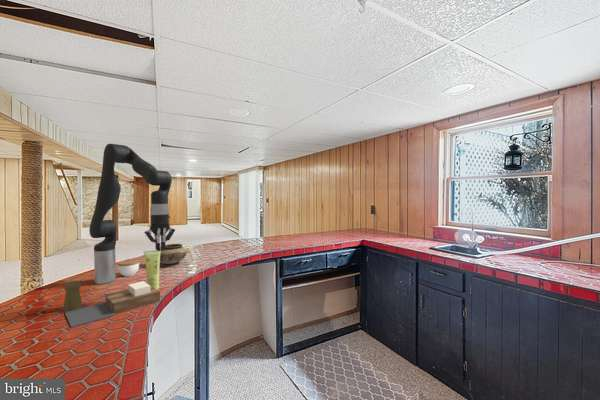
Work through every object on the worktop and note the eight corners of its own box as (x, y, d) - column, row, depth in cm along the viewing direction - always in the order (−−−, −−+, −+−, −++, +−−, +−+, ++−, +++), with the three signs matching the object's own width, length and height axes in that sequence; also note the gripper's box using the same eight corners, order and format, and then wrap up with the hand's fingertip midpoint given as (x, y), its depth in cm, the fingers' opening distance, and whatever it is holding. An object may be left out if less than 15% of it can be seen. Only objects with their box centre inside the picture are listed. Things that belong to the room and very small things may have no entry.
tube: (150, 292, 126) (149, 252, 126) (144, 290, 129) (143, 250, 128) (161, 288, 131) (160, 249, 131) (155, 286, 134) (154, 248, 133)
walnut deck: (105, 304, 113) (105, 294, 113) (148, 292, 126) (148, 284, 125) (114, 314, 104) (113, 304, 103) (160, 300, 116) (159, 292, 116)
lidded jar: (113, 275, 151) (113, 259, 151) (132, 271, 161) (132, 255, 161) (124, 278, 146) (124, 262, 146) (143, 273, 156) (143, 257, 156)
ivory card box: (128, 291, 117) (128, 284, 117) (143, 287, 122) (143, 281, 121) (134, 296, 111) (134, 289, 111) (150, 292, 115) (150, 285, 115)
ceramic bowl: (194, 265, 182) (196, 244, 185) (182, 266, 165) (185, 242, 168) (159, 265, 182) (161, 244, 186) (144, 266, 165) (147, 242, 168)
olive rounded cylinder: (67, 306, 111) (66, 280, 111) (84, 303, 113) (84, 278, 113) (60, 312, 105) (59, 285, 105) (78, 309, 107) (78, 283, 107)
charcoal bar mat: (64, 313, 104) (64, 312, 104) (104, 303, 114) (104, 302, 114) (71, 327, 93) (71, 326, 93) (115, 315, 103) (115, 314, 103)
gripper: (171, 212, 130) (172, 247, 130) (140, 213, 120) (141, 251, 120) (178, 213, 125) (178, 249, 125) (146, 214, 114) (147, 254, 115)
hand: (160, 250), depth 122 cm, fingers closed
